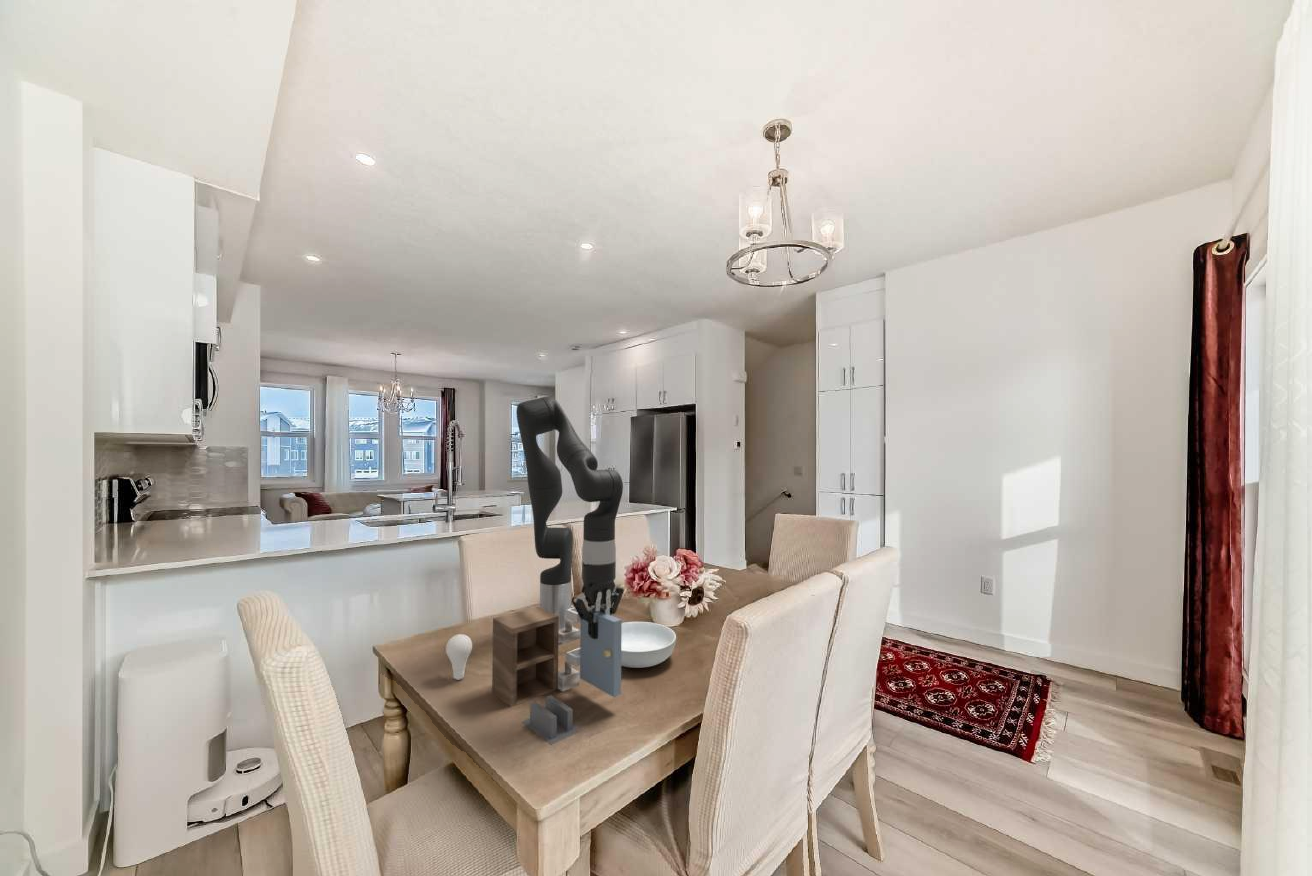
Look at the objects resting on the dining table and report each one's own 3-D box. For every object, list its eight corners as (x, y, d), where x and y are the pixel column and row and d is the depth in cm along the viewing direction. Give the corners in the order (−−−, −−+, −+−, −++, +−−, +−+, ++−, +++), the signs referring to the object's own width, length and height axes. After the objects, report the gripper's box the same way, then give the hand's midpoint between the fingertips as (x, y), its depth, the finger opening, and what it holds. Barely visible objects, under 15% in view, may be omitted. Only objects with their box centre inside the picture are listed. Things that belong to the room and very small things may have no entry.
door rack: (550, 714, 110) (550, 691, 110) (580, 735, 103) (581, 710, 103) (521, 726, 105) (521, 702, 106) (551, 749, 98) (551, 723, 98)
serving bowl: (583, 666, 134) (584, 640, 134) (625, 640, 153) (625, 617, 153) (653, 685, 124) (653, 656, 124) (688, 654, 143) (688, 629, 143)
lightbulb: (450, 674, 129) (450, 630, 129) (474, 673, 129) (475, 630, 130) (441, 685, 123) (442, 640, 123) (467, 685, 123) (468, 639, 123)
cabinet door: (580, 668, 122) (580, 601, 122) (624, 692, 111) (625, 618, 111) (565, 673, 119) (566, 605, 119) (609, 699, 108) (610, 623, 108)
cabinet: (553, 673, 130) (554, 602, 130) (579, 688, 122) (580, 613, 122) (492, 696, 118) (493, 618, 118) (515, 714, 110) (516, 631, 110)
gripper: (611, 551, 121) (611, 624, 121) (563, 561, 112) (562, 640, 112) (633, 557, 116) (632, 633, 116) (584, 567, 106) (583, 650, 106)
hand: (598, 636), depth 114 cm, fingers closed on cabinet door, 2 cm apart
